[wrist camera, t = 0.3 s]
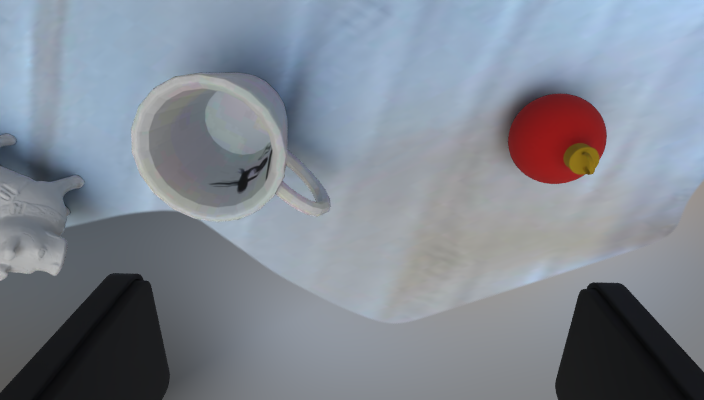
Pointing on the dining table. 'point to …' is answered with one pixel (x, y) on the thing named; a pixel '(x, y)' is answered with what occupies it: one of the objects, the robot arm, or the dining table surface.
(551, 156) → the christmas ornament
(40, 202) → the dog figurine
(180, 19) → the dining table surface
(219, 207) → the mug
